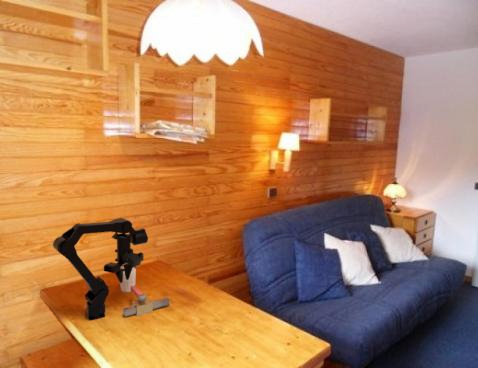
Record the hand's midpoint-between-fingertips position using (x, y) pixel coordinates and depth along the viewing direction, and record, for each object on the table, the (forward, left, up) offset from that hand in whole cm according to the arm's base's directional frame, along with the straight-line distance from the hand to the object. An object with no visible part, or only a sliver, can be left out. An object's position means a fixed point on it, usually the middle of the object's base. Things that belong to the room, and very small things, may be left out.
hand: (124, 281), depth 164 cm
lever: (+5, -3, -6) cm, 9 cm away
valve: (+7, -9, -12) cm, 16 cm away
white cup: (+7, +17, -12) cm, 22 cm away
